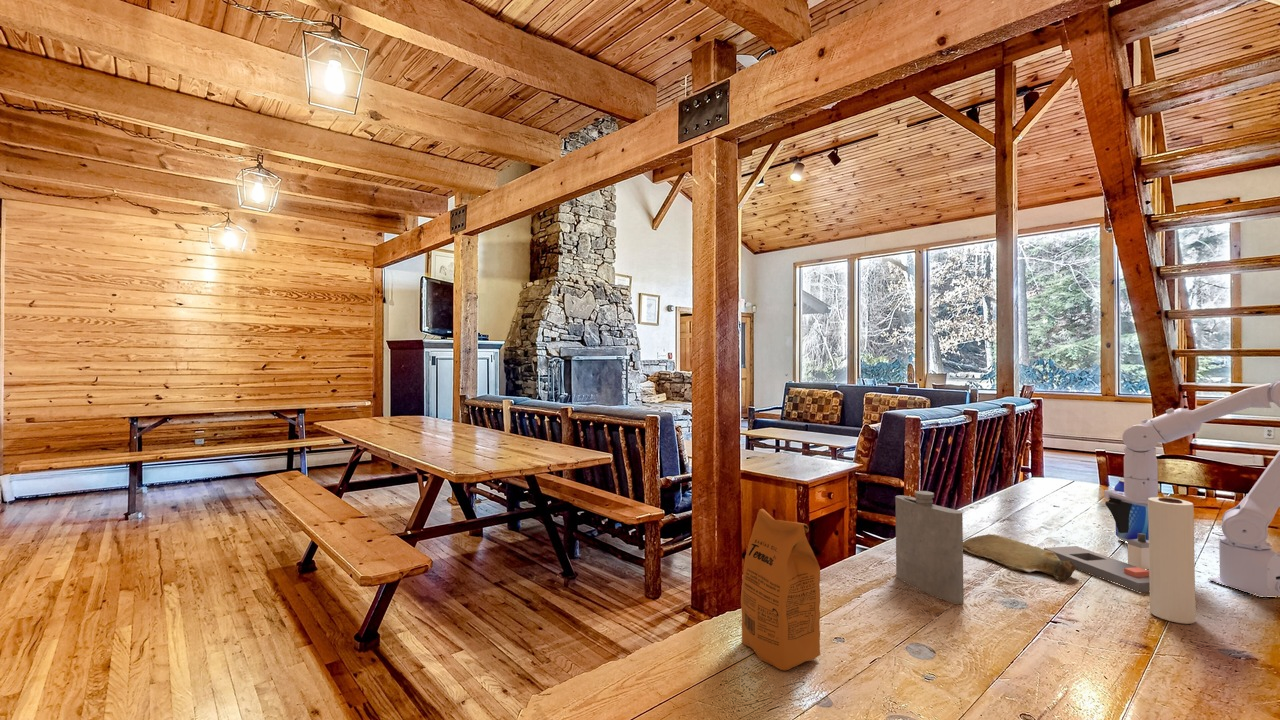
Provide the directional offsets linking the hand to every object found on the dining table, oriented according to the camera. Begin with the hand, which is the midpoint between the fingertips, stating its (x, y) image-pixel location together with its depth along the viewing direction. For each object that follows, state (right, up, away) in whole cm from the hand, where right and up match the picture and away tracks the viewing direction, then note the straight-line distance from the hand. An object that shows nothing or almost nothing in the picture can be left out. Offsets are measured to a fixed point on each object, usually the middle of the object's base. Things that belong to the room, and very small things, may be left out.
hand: (1141, 537), depth 126 cm
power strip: (-11, -7, -3) cm, 13 cm away
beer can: (+15, -7, +17) cm, 24 cm away
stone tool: (-26, -8, +4) cm, 28 cm away
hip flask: (-55, -7, -11) cm, 56 cm away
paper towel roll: (-16, -7, -25) cm, 31 cm away
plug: (0, -7, 0) cm, 7 cm away
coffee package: (-92, -7, -36) cm, 99 cm away
